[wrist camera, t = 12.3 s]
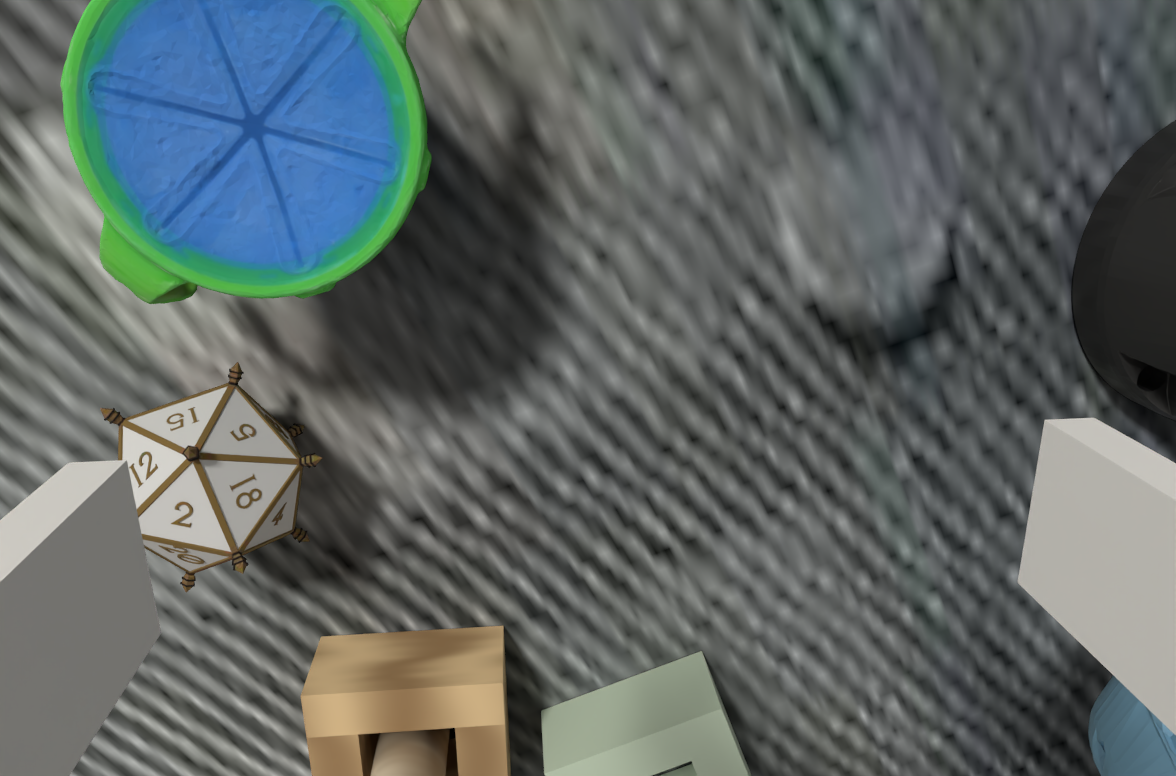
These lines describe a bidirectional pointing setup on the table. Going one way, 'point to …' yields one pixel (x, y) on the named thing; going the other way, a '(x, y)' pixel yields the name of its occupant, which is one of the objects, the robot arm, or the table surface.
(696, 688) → the sage bead
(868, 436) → the table surface
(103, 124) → the snack cup
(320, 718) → the wooden square ring
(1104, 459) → the robot arm
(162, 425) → the game die
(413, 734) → the dowel
